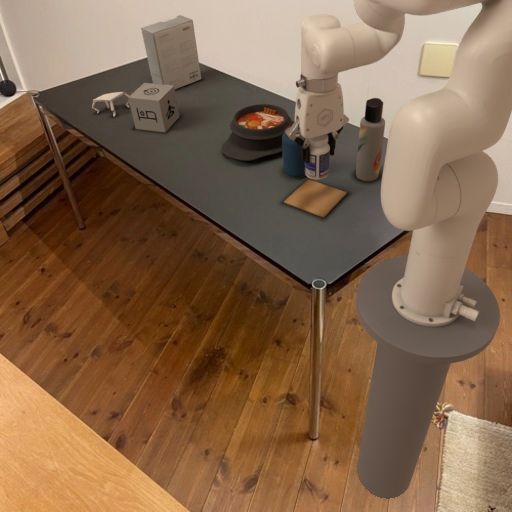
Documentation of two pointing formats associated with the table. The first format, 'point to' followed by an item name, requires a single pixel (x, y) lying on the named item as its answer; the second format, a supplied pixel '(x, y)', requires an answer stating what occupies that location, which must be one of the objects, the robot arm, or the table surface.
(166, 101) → the icon cube
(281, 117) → the casserole
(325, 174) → the pill bottle
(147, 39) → the hard drive box
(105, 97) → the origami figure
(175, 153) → the table surface
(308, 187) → the cork mat
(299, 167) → the soda can
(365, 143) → the lotion bottle
